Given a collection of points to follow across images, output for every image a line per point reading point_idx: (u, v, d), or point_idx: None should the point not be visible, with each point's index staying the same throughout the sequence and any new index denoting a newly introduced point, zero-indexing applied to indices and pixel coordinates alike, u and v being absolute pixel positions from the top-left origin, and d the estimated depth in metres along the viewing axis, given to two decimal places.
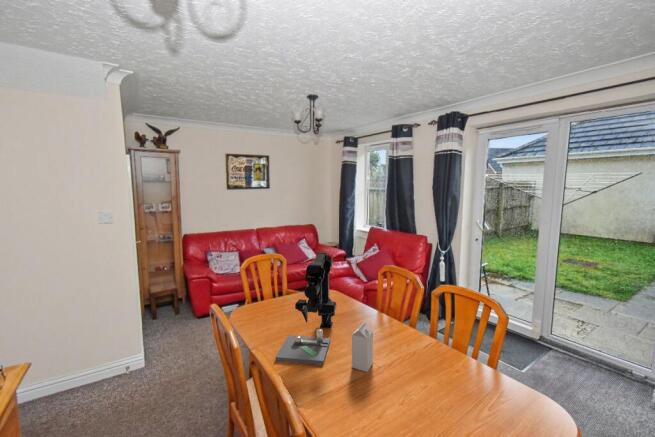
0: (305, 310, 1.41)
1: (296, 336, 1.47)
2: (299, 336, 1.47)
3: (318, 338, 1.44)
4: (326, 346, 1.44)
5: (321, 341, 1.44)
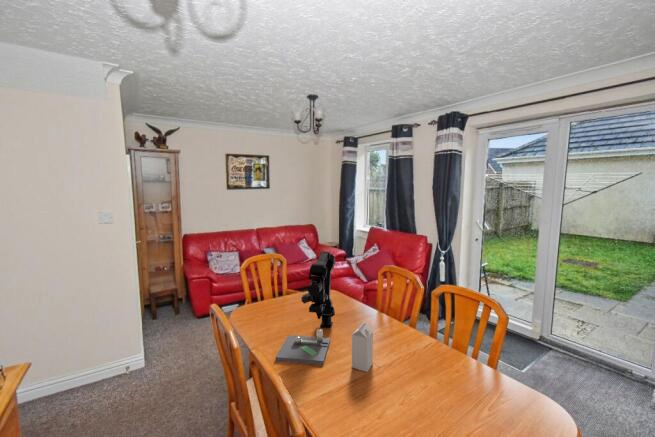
0: None
1: (296, 336, 1.47)
2: (299, 336, 1.47)
3: (318, 338, 1.44)
4: (326, 346, 1.44)
5: (321, 341, 1.44)
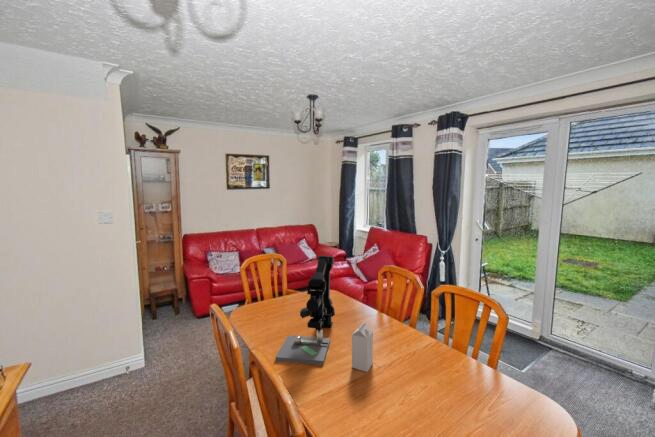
0: None
1: (296, 336, 1.47)
2: (299, 336, 1.47)
3: (318, 338, 1.44)
4: (326, 346, 1.44)
5: (321, 341, 1.44)
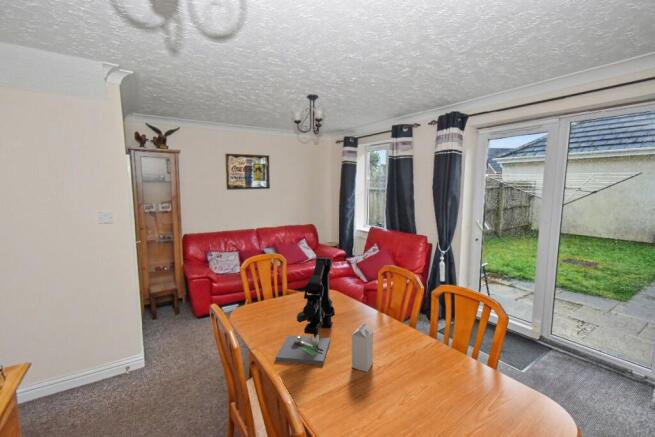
0: None
1: (297, 336, 1.47)
2: (299, 336, 1.47)
3: (313, 343, 1.40)
4: (326, 346, 1.44)
5: (316, 346, 1.39)
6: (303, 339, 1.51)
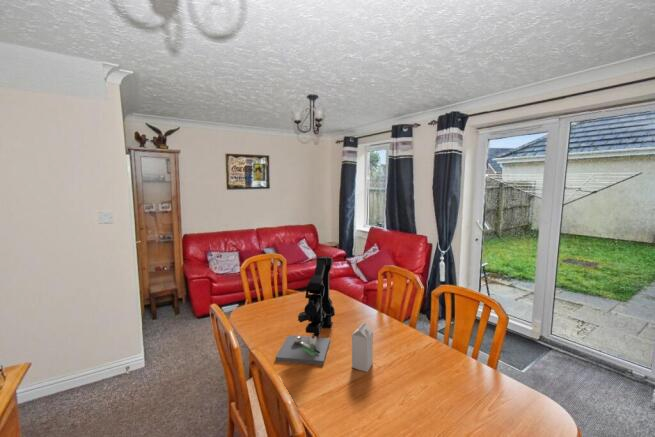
0: None
1: (297, 336, 1.47)
2: (299, 337, 1.47)
3: (310, 344, 1.38)
4: (326, 346, 1.44)
5: (313, 348, 1.38)
6: (303, 339, 1.51)
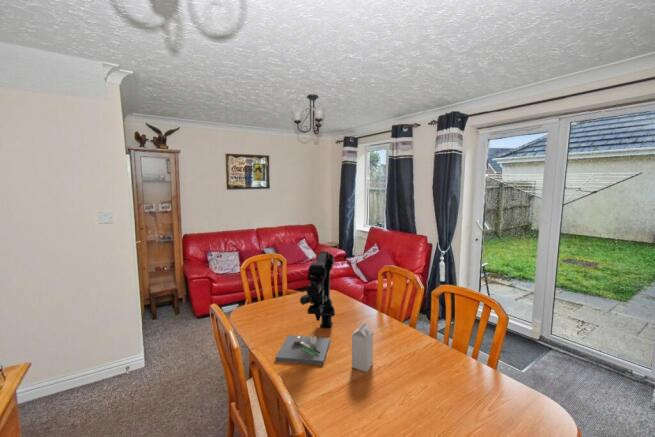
0: None
1: (297, 336, 1.47)
2: (299, 337, 1.47)
3: (310, 344, 1.38)
4: (326, 346, 1.44)
5: (313, 348, 1.38)
6: (303, 339, 1.51)
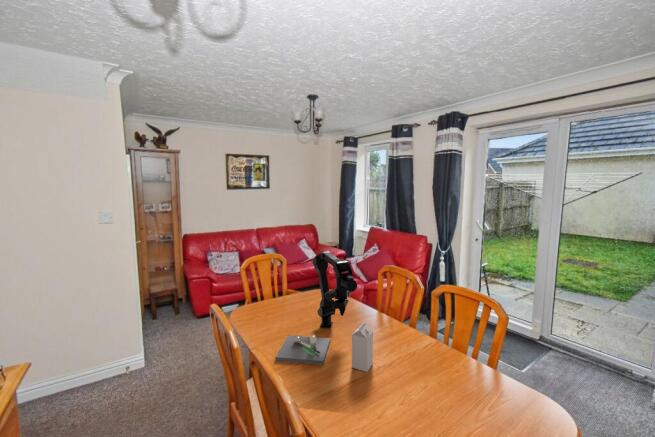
0: None
1: (297, 336, 1.47)
2: (299, 337, 1.47)
3: (310, 344, 1.38)
4: (326, 346, 1.44)
5: (313, 348, 1.38)
6: (303, 339, 1.51)
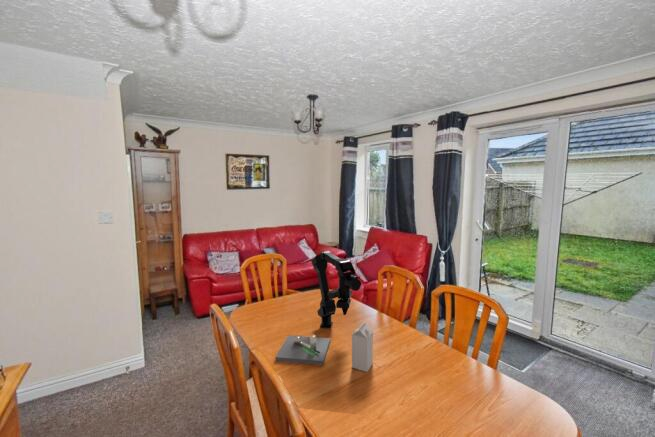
0: None
1: (297, 336, 1.47)
2: (299, 337, 1.47)
3: (310, 344, 1.38)
4: (326, 346, 1.44)
5: (313, 348, 1.38)
6: (303, 339, 1.51)
